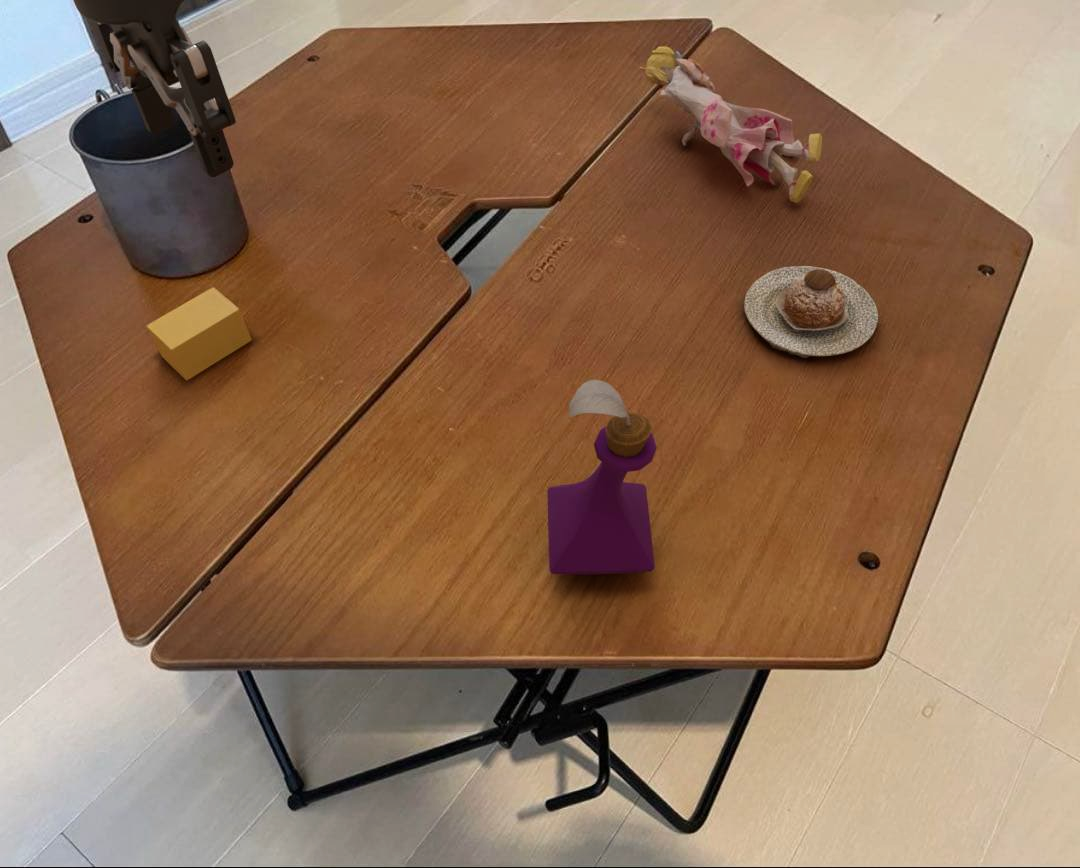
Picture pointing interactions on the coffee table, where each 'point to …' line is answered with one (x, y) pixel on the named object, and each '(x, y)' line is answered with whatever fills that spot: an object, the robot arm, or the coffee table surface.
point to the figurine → (733, 123)
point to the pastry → (810, 311)
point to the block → (199, 333)
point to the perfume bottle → (604, 495)
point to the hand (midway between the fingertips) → (190, 149)
